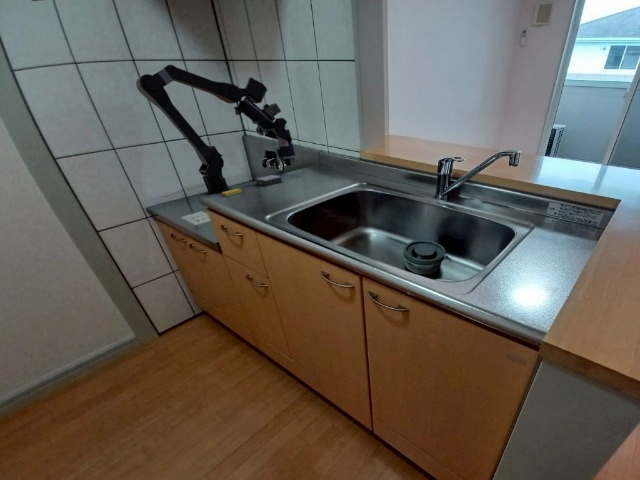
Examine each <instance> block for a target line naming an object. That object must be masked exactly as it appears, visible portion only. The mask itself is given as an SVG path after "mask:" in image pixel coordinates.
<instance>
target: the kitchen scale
mask: <svg viewBox="0 0 640 480" xmlns="http://www.w3.org/2000/svg"><path fill="white" fill-rule="evenodd" d="M255 181H256V185H257V186H261V187H269V186H272V185H276V184H280V183H283V180H282V178H281V176H280V175H275V174H271V175H266V176H262V177H257V178H255Z"/></svg>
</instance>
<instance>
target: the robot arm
mask: <svg viewBox="0 0 640 480" xmlns="http://www.w3.org/2000/svg"><path fill="white" fill-rule="evenodd" d="M136 79H137V80H136V83H135V85H136V89H137V90H138V92H139V93H140V95H142V97H144V98H146V99H147V100H148V101H149V102H150V103H151V104H153V105H154V106H155V107H157V108H158V109H159V110H160V111H161V112H162V113H163V114H164V115H165V117H166V118H167V119H168V120H169V121H170V122H171V124H172V125H173V126H174V127H175V128H176V129H177V131H178V132H179V133H180V134H181V135H182V136H183V138H184V139H185V140H186V141H187V142H188V144H189V145H190V146H191V147H192V148H193V149H194V151H195V153H196V155H197V157H198V160H199V161H200V162H201V164H200V167H199V169H198V172H199V173H200V175H201V176H202V180H203V182H204V185H205V187H206V189H207V192H206V195H212V194H220V193H221V194H222V192H226V191H229V190H231V189H230V187H229V186H228V183H227V180H226V178H225V177H224V175H223V168H224V165H225V161H224V159H223V155H222V154H221V153H220V152H219V151H218V149H217V148H216V147H215V145H208V144H207V143H206V142H205V141H204V140H203V139H202V137H200V135H199V134H198V133H197V132H196V130H195V129H194V128H193V127H192V125H191V124H190V123H189V122H188V121H187V119H186V118H185V117H184V116H183V114H181V112H180V111H179V110H178V109H177V107H176V106H175V104H173V102H172V100H171V98H170V96H169V94H168V92H167V89H165V87H166V86H167V85H169V84H170V83H172V82H176V83H179V84H182V85H184V86H188V87H191V88H194V89H197V90H200V91H202V92H204V93H208V94H211V95H213V96H214V97H216V99H219V100H220V101H222V102H224V103H226V104H230V105H232V104H237V103H238V104H237V106H233V109H234V113H235V116H240V115H242V114H243V115H244V116H245V117H247V118H248V119H249V120H250V121H251V123H252V124H253V125H257V126H256V128H255V131H256V134H257V135H259V136H262V137H263V136H264V137H266V138H270V139H273V140H275V141H276V140H277V141H278V139H277V137H279V138H282V139H284V140H287V141H290V142H291V141H292V142H293V139H292V136H291V137H290V136H289V135H288V133H287V132H286V130H285V126H286V125H287V123H288V121H287V120H286V119H285V118H284V117H278V118H276V116H277V115H278V114H280V113H281V112H282V109H281V108H280V106H279V105H278V104H277V102H275V103H272V104H268V103H265V104H263V106H262V108H261V107H259V106H258V105H257V104H262V103H263V99H264V98H265V96H266V95H267V92H268V87H266V86H265V84H264V83H263V82H260V81H259V80H257V79H255V78H253V77H252V76H251V77H249V78H248V79H247V83H246V85H245V87H239V86H238V85H236V84H234V83H229V82H224V81H223V82H222V81H216V80H212V79H209V78H206V77H204V76H202V75H198V74H195V73H193V72H190V71H189V70H186V69H185V70H184V69H182V68H179V67H177V66H175V64H174V65H173V64H167V65H165V66H164V67H163V68H162V69H161V70H159V71H157V72H155V73H154V74H148V73H146V74H142V75H141V76H139V77H138V78H136Z"/></svg>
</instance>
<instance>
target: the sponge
mask: <svg viewBox="0 0 640 480" xmlns="http://www.w3.org/2000/svg"><path fill="white" fill-rule="evenodd" d="M242 193H243V190H242V189H241V188H235V189H229V190H226V191H224V192H221V195H222V196H224V197H229V196H232V195H237V194H242Z"/></svg>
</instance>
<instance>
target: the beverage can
mask: <svg viewBox="0 0 640 480" xmlns="http://www.w3.org/2000/svg"><path fill="white" fill-rule="evenodd" d="M285 130H286V132H287V133H288V135H289V136H290V137H291V138H292V135H291V130H290V129H289V126H286V125H285ZM277 139H278V140H277V143H278V146H279V151H280V154H281V157H282V158H283V159H284V160H288V159H289V160H290V159H293V158H295V156H296V152H295V147H294V144H293V140H292V141H291V142H290V141H287V140H284V139H282V138H279V137H277Z"/></svg>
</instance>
